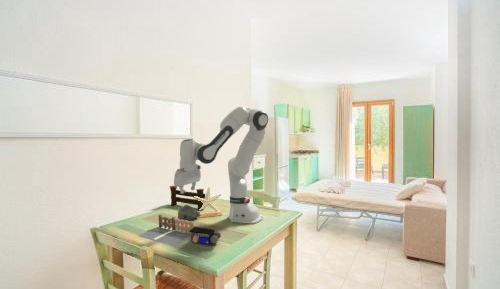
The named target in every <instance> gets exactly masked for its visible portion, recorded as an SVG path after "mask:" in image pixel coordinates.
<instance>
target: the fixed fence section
mask: <svg viewBox="0 0 500 289" xmlns="http://www.w3.org/2000/svg"><path fill="white" fill-rule="evenodd" d="M175 219H176V217H175V216H174V217H168V216H167V217H166V216H163V214H159V215H158V227H163V225H164V228H167V226H168V229H171V227H172V230H176V228H175V225H176V224H177V222H175Z"/></svg>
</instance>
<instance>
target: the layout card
mask: <svg viewBox="0 0 500 289" xmlns="http://www.w3.org/2000/svg"><path fill="white" fill-rule="evenodd" d="M192 234H193V233H189V231H188V232H185V230H184V231H181V229H180V230H177V228H176V230H172V227H171V229H168V226H167V228H164V225H163V227H159V226H157V227H154V228H153V229H151V230H148V231H145V232H144V233H141V234H139V235H138V237H139V238H143V239H147V240H151V241H154V242H155V241H156V242H159V243H163V244H167V245H169V246H170V245H171V246H174V247H177V246H178V245H180V244H182V243H183V242H186V241H187V240H189V239H190V238H191V235H192Z"/></svg>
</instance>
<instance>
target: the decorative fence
mask: <svg viewBox="0 0 500 289" xmlns="http://www.w3.org/2000/svg"><path fill="white" fill-rule="evenodd" d="M169 189H170V201H171V202H170V206H171V207H176V206H177V205H178V203H181V204H186V205H194V206H195V205H196V206H197V211H200V210H199V209H200V208H201V207H202V205H203V203H202V202H201V201H198V199H194V198H195V197H194V196H198V197H200V198H203V199H206V193H204V191H205V190H204V188H197V189H196V188H195V190H196V192H193V191H186V190H185V193H183V194H181V193H180V189H178V186H175V185H170V186H169ZM177 195H178V196H177ZM181 196H183V197H181ZM188 197H189V198H188Z"/></svg>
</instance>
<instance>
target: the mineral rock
mask: <svg viewBox="0 0 500 289" xmlns="http://www.w3.org/2000/svg"><path fill="white" fill-rule="evenodd" d="M201 216H202V215H201V214H200V212H199V211H198V210H196V209H195V208H194V207H193V206H191V205H190V204H185V205H182V206H179V207H178V211H177V219H179V220H184V221H185V220H187V221H190V220H194V219H197V218H200V217H201Z"/></svg>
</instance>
